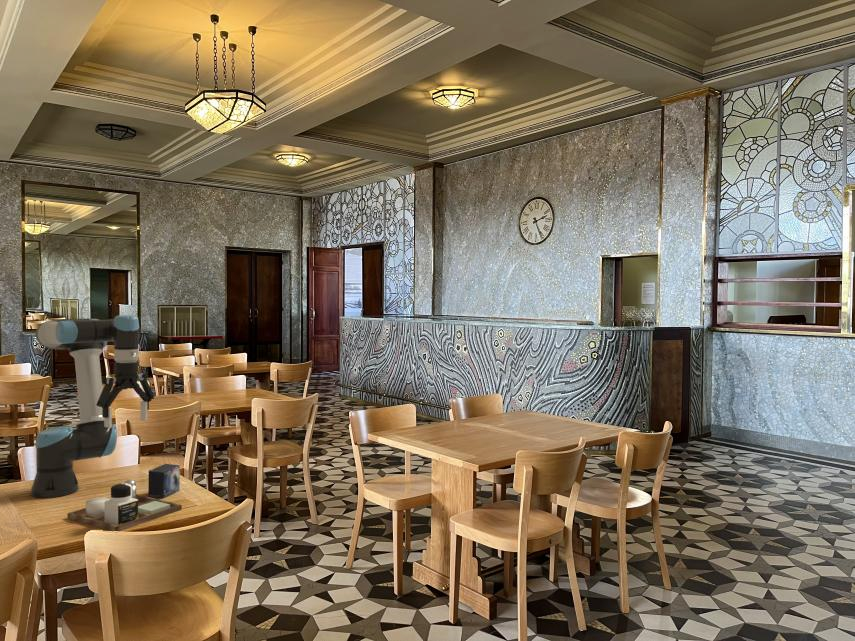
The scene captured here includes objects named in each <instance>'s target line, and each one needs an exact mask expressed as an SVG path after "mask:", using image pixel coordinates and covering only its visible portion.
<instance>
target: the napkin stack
mask: <svg viewBox="0 0 855 641" xmlns="http://www.w3.org/2000/svg"><path fill="white" fill-rule="evenodd" d="M168 508H170V504H166V503H162V502H158V501H153V502H150V503H147V504H144V505H141V506H138V512H142V513H146V514H150V515H151V514H153V513H156V512H159V511H162V510H165V509H168Z"/></svg>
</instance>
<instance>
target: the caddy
mask: <svg viewBox="0 0 855 641" xmlns="http://www.w3.org/2000/svg"><path fill="white" fill-rule="evenodd" d="M136 499H138V506H141V505H144V504H147V503H150V502H153V501H158V502H162V503H166V504H170V508H168V509H165V510H162V511H159V512H156V513H153V514H151V515H150V514H146V513H142V512H138V519H136V520H133V521H130V522H127V523H124V524H121V525H118V526H116V525H113V524H109V523H106V522H105V515H104V516H101V517H98V518H95V519H91V518H88V517H86V507H85V508H81V509H78V510H74V511H70V512H68V513H67V519H69V520H73V521H74V522H75V521H76V522H79V523H82V524H86V525H89V526H93V527H95V528H101V529H104V530H108V531H110V530H114V531H119V532H122V531H124V530H127V529H131V528H134V527H136V526H140V525H141V524H146V523H148V522H150V521H154V520H156V519H159V518H162V517H164V516H167V515H168V516H169V515H171V514H174V513H176V512H179V511H182V509H183V508H182V506H183V505H182V504H179V503H175V502H171V501H167V500H164V499H162V500H161V499H159V498H150V497H148V496H147V495H141V494H137V493H136ZM114 531H113V532H114Z"/></svg>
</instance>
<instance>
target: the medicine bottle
mask: <svg viewBox="0 0 855 641" xmlns="http://www.w3.org/2000/svg"><path fill="white" fill-rule="evenodd" d="M131 497H132V486H131V485H130V484H127V483H124V482H123V483H117V484H114V485H112V486H111V487H110V500H108V501H105V522H106V523H109V524H113V525H116V526H118V525H121V524H124V523H127V522H130V521H133V520H136V519H138V499H135V498H131Z"/></svg>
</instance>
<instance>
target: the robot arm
mask: <svg viewBox="0 0 855 641" xmlns="http://www.w3.org/2000/svg"><path fill="white" fill-rule="evenodd" d="M139 322H140V321H139V317H138V316H137V315H129V314H127V315H126V314H123V315H121V314H120V315H116V316H115V317H114V318H110V319H98V318H88V317H86V318H69V319H68V318H63V319H62V318H57V319H51V320H48V321H44V322H42V323H41V324H39V326H38V327H37V329H36V331H35V338H36V340H37V342H38V343H39V344H40V345H41V346H43V347H46V348H48V349H51V350H52V349H53V350H68V352H69V355H70V356H71V357H73V359H74V365H75V366H74V367H75V374H76V375H75V377H76V388H77V398H78V410H79V420H78V421H77V423H76V425H75V428H74V427H73V426H72V425H62V426H61V425H60V426H54V427H49V428H47V429H44V430H42V431H40V432H39V433H38V434H37V435H36V439H35V440H36V442H35V450H36V451H35V452H36V453H35V454H36V455H35V456H36V458H35V459H36V461H35V462H36V465H35V466H36V474H35V476H34V480H33V482H32V485H31V487H30V488H31V489H30V492H31V493H30V494H31V496H32V497H35V498H42V499H43V498H44V499H45V498H46V499H47V498H56V497H63V496H67V495H71V494H73V493H76V492H78V491H79V482H78V478H77V476H76V473H75V471H74V462H75V461H76V462H77V461H83V460H88V459H95V458H100V459H101V458H102V457H107V456H110V455H112V454H113V453H114V451H115V449H116V446H117V443H118V442H117V441H118V430H117V427H116V425H115V424H113V423H112V422H113V421H112V420H113V417H112V416H113V415H112V411H113V410H112V407H111V405H112V404H113V402H114V401H115V399H116V398H117V396H118V395H119V394H120V393H121V392H122V391H123V390H128V389H133V390H134V392H135V393H136V394H137V395H138V396H139V397H140V399H141V400H140V405H139V406H140V410H139V411H140V413H139V414H140V418H139V419H140V421H143V422H144V421H148V411H149V410H150V403H151V402H152V400H153V399H155V395H154V393H153V390H152V388H151V385H150V384H149V382H148V379H147V374H146V373H143V372H139V370H140V368H139V367H140V364H139V361H138V360H139V357H140V356H139V354H140V352H139V347H140V346H139V345H140V344H139V343H140V341H139V340H140V338H139V337H140V336H139V333H140V323H139ZM108 342H113V344H114V346H113V361H115V362H114V363H113V364H114V366H113V370H114V374H115V375H114V377H109V376H107V377H106V378H105V384H104V386H103V382H102V371H101V370H102V369H101V363H100V362H101V361H100V356H101V354H102V353H103V352H104V348H106V346H107V345H108ZM138 381H139V383H140V384H139V383H138Z"/></svg>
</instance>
